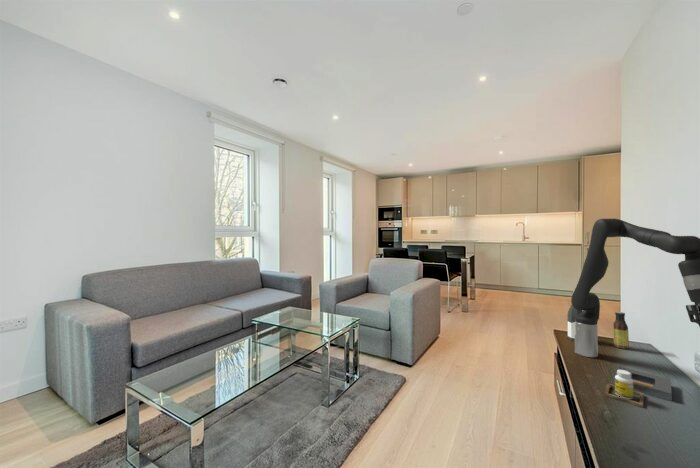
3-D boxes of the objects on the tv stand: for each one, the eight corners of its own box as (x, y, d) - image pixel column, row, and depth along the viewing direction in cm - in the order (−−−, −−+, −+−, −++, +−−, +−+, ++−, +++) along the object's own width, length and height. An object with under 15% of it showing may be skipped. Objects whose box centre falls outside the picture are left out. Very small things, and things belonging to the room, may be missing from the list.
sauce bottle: (631, 350, 159) (631, 314, 159) (618, 349, 160) (618, 314, 160) (623, 345, 165) (622, 311, 165) (610, 344, 166) (610, 310, 166)
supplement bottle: (611, 392, 118) (611, 369, 118) (623, 391, 119) (623, 368, 118) (624, 400, 113) (624, 375, 113) (637, 399, 113) (637, 374, 113)
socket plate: (615, 385, 123) (615, 378, 123) (619, 372, 134) (619, 365, 134) (671, 401, 111) (671, 393, 111) (670, 385, 122) (670, 378, 122)
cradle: (604, 395, 116) (604, 393, 116) (607, 385, 123) (607, 383, 123) (642, 407, 108) (642, 404, 108) (643, 395, 115) (643, 393, 115)
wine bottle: (581, 338, 177) (581, 289, 177) (586, 342, 170) (585, 292, 170) (566, 336, 181) (565, 289, 180) (569, 340, 173) (569, 291, 173)
